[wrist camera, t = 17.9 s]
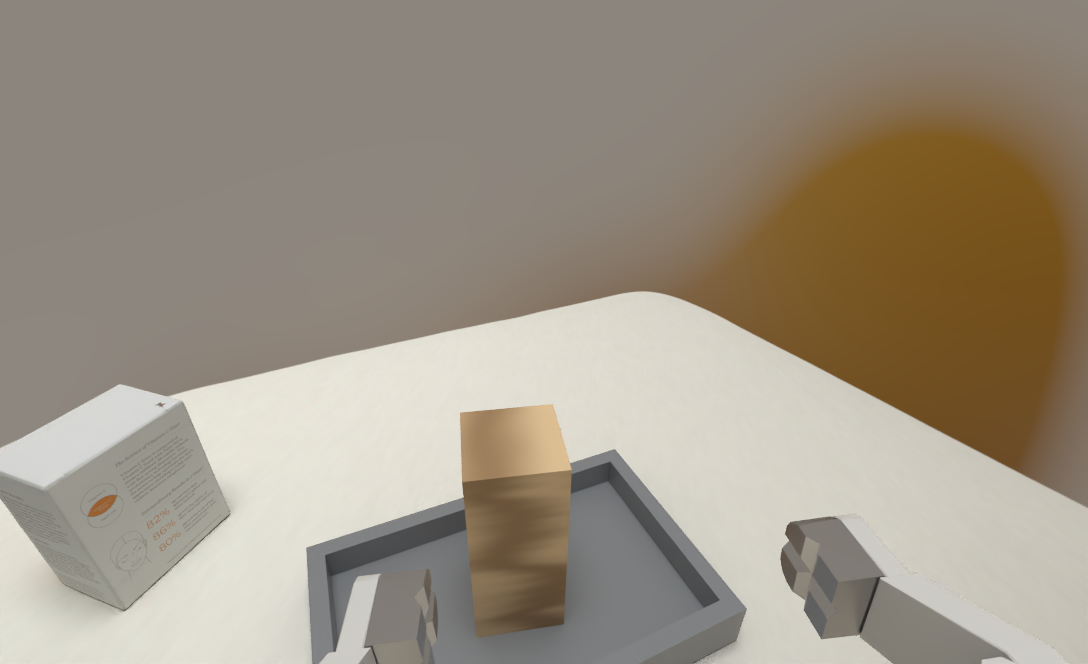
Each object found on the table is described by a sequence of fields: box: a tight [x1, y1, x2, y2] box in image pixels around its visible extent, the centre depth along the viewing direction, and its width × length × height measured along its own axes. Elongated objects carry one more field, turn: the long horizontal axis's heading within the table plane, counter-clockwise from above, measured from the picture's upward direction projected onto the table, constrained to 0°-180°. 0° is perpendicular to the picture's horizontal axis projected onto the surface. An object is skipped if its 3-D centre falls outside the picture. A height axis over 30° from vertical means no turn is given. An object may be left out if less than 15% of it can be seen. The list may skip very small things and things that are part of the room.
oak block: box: [460, 404, 572, 638], centre depth 28 cm, size 5×5×12 cm
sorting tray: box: [306, 449, 747, 664], centre depth 31 cm, size 22×14×3 cm, turn 114°
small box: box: [0, 384, 230, 610], centre depth 32 cm, size 8×6×10 cm
